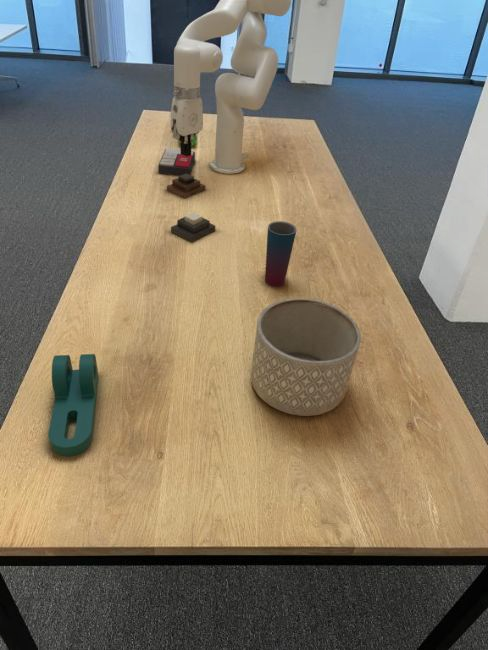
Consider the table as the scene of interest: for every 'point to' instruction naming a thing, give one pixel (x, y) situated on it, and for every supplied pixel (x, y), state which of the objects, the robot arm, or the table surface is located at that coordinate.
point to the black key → (186, 178)
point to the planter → (303, 355)
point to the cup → (278, 251)
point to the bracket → (73, 403)
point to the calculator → (176, 163)
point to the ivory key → (193, 218)
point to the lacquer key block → (192, 229)
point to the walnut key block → (185, 188)
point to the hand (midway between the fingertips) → (185, 154)
